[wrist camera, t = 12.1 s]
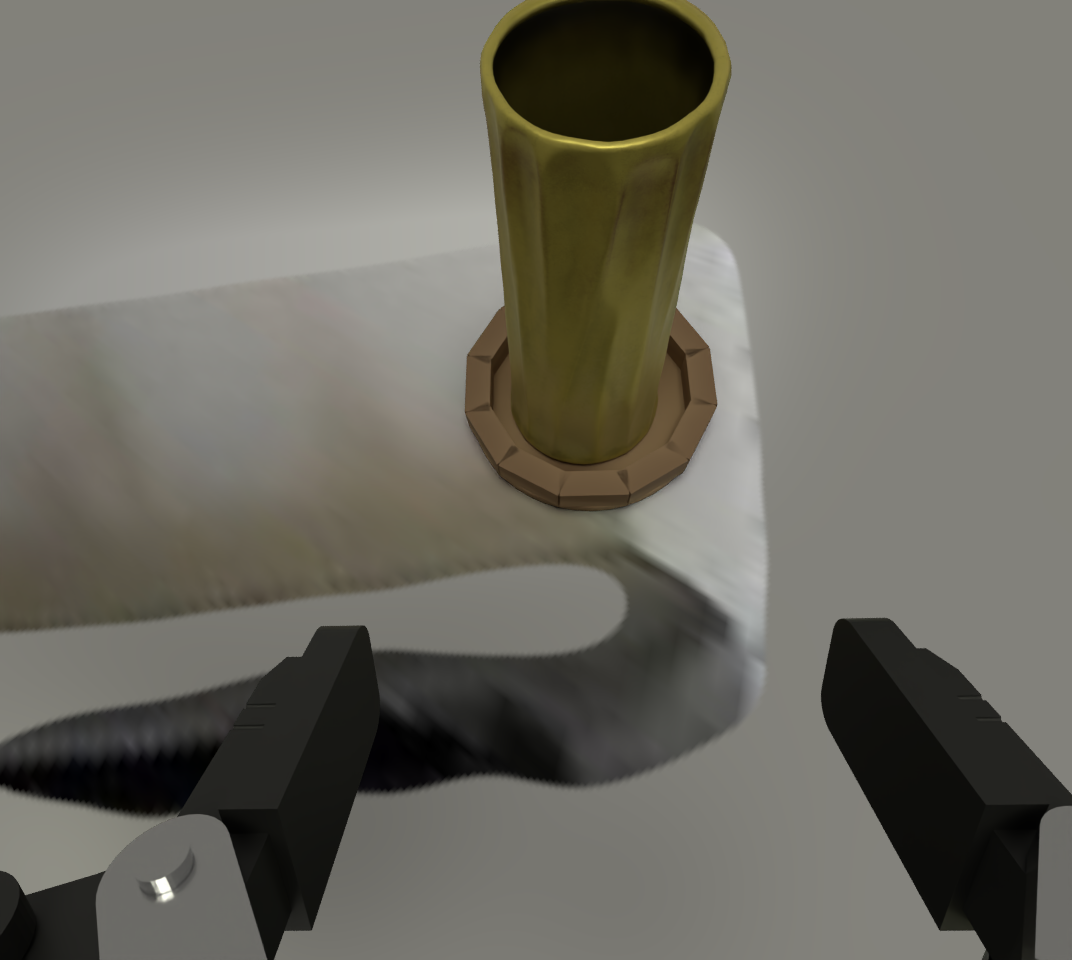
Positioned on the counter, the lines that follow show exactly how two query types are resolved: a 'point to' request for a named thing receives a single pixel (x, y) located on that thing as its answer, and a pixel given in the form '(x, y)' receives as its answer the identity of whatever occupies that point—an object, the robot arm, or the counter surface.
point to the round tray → (605, 483)
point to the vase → (596, 204)
